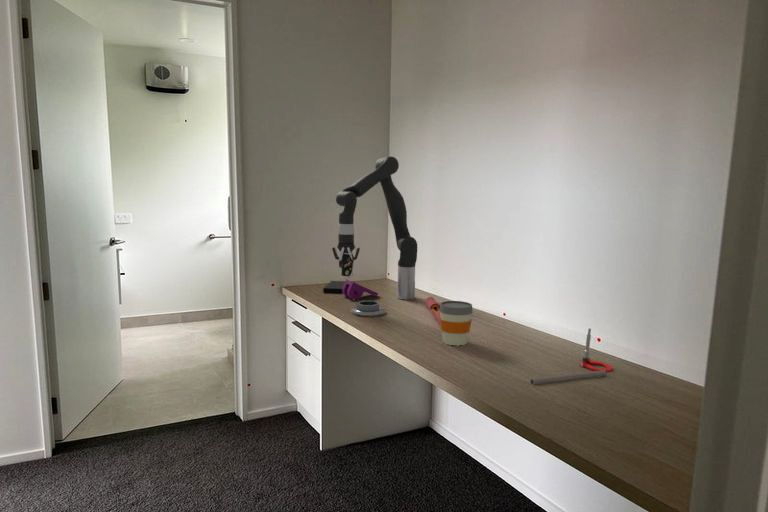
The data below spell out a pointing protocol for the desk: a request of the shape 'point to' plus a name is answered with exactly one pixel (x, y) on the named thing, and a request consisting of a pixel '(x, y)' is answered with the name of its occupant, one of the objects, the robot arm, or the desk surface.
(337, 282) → the external hard drive
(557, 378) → the metal rod
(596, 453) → the desk surface
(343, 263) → the beverage can
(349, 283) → the mounting bracket
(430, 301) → the blood vessel
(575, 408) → the desk surface
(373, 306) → the rosette socket
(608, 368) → the tow hook
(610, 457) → the desk surface
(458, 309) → the reusable coffee cup
